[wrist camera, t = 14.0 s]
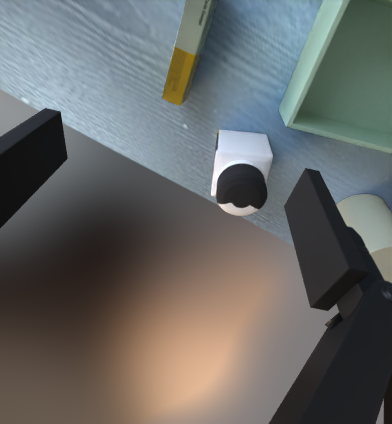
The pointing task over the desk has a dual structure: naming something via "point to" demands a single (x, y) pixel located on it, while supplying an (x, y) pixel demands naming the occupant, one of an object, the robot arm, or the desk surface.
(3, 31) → the desk surface
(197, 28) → the medication box
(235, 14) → the desk surface
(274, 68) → the desk surface
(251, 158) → the medicine bottle
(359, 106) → the bin
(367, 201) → the can
